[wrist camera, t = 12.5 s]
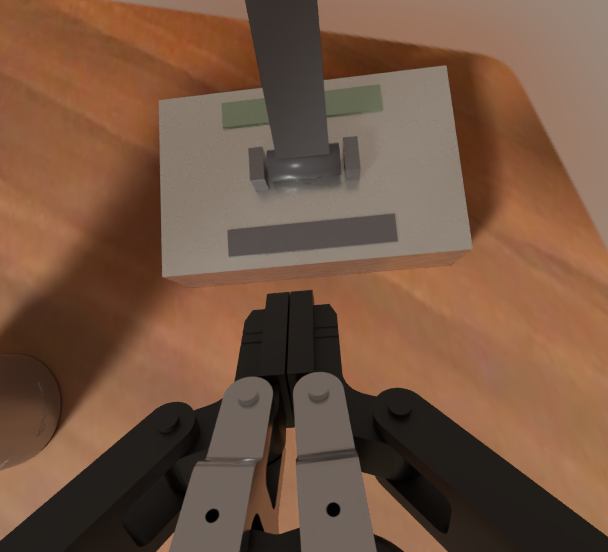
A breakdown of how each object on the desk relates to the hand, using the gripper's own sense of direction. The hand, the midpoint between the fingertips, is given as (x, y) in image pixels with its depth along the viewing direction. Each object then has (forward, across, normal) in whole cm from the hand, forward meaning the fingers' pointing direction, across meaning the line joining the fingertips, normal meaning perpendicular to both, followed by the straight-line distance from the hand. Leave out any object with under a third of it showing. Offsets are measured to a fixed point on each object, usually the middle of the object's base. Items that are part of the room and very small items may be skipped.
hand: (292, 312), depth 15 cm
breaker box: (+24, 0, +7) cm, 25 cm away
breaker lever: (+19, 0, +3) cm, 19 cm away
